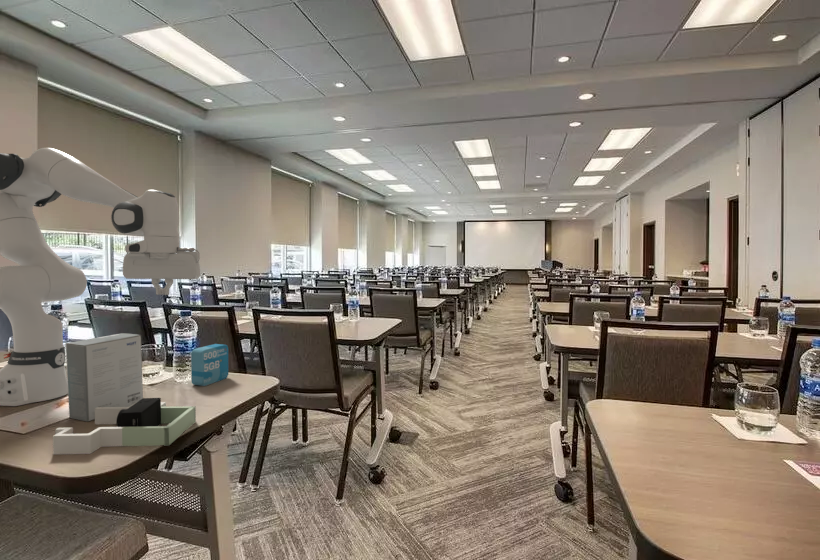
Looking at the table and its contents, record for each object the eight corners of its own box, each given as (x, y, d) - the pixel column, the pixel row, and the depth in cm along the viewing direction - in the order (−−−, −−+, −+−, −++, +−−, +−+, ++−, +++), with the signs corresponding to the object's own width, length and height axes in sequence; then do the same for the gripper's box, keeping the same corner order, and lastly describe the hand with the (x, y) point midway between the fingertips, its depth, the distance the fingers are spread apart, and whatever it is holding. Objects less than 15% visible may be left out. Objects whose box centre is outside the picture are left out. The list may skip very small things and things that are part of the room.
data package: (201, 387, 138) (201, 350, 138) (191, 385, 140) (190, 349, 139) (228, 377, 150) (228, 343, 149) (218, 376, 151) (218, 342, 150)
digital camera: (137, 425, 107) (137, 397, 107) (161, 424, 108) (160, 397, 107) (116, 443, 97) (115, 412, 96) (142, 441, 98) (141, 411, 97)
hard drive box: (125, 400, 125) (124, 332, 124) (144, 403, 122) (143, 334, 121) (67, 418, 111) (65, 342, 110) (86, 422, 108) (84, 344, 107)
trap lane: (43, 454, 90) (42, 436, 90) (106, 417, 111) (106, 402, 111) (161, 452, 92) (160, 434, 92) (201, 416, 113) (201, 401, 113)
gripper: (203, 247, 127) (204, 294, 128) (131, 246, 125) (132, 293, 126) (194, 247, 121) (195, 296, 121) (118, 246, 119) (119, 295, 120)
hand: (162, 294), depth 124 cm, fingers closed
